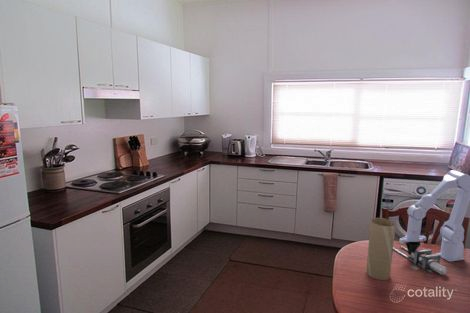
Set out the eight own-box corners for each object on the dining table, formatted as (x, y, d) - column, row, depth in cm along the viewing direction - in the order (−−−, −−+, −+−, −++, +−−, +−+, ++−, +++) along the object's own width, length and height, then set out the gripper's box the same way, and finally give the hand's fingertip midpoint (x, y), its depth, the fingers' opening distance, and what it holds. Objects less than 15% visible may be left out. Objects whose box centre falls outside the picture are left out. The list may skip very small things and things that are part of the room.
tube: (362, 273, 145) (367, 222, 140) (370, 265, 152) (375, 216, 148) (385, 282, 138) (391, 228, 134) (393, 273, 146) (398, 221, 141)
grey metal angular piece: (403, 247, 171) (404, 235, 170) (444, 271, 148) (446, 258, 146) (384, 249, 168) (385, 237, 167) (423, 274, 145) (424, 261, 143)
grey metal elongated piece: (410, 259, 159) (411, 251, 158) (416, 257, 160) (417, 250, 159) (439, 275, 144) (440, 267, 143) (446, 274, 145) (447, 266, 144)
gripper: (419, 224, 164) (416, 249, 167) (395, 227, 160) (393, 252, 163) (430, 230, 157) (427, 255, 160) (406, 233, 154) (403, 259, 156)
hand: (410, 254), depth 161 cm, fingers closed, pressing on grey metal elongated piece
